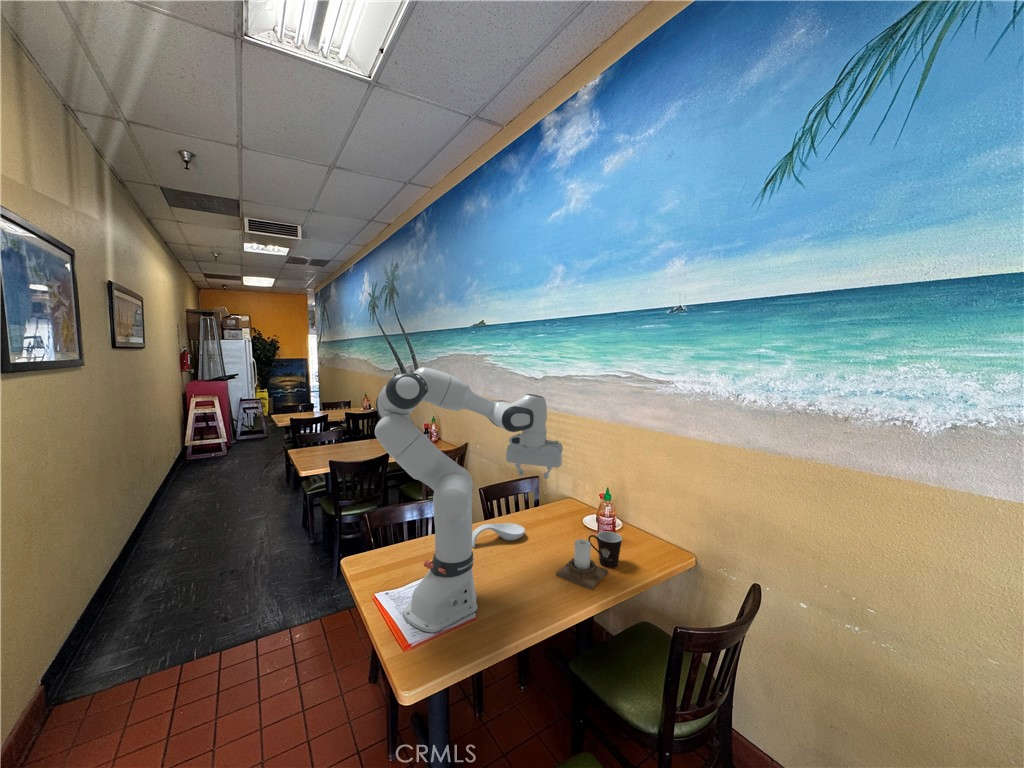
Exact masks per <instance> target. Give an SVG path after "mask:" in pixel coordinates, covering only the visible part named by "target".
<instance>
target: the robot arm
mask: <svg viewBox="0 0 1024 768" xmlns="http://www.w3.org/2000/svg"><path fill="white" fill-rule="evenodd" d="M421 402H425V403H430V404H432V405H434V406H437V407H438V408H442V409H445V410H450V411H456V412H458V411H462V410H468V411H471V412H474V413H476V414H479V415H482V416H484V417H486V418H487V419H488V420H489V421H490V422H491V424H493V425H494V426H496V427H498V428H501V429H502V430H505V431H507V432H510V433H516V432H517V434H514V435H512V436H511V437H509V439H508V443H509V444H508V445H507V448H506V453H505V460H506V461H507V463H511V464H512V463H513V464H515V468H516V470H517V471H518V474H517V475H518V476H521V477H522V476H524V471H525V470H524V469H522V467H521V465H528V466H530V465H531V466H540V467H546V470H547V471H546V472H543V479H547V480H548V479H549V477H550V472H551V471H552V469H553V468H556V469H557V468H560V467H561V466H562V463H563V461H562V460H563V457H562V453H563V451H564V450H563V444H562V443H561V442H559V440H551V439H547V426H546V423H547V420H548V411H547V410H548V409H547V408H548V407H547V401H546V399H545V397H544V396H542V395H537V394H532V393H526V394H524V395H523V396H522V397H521V398H519V399H517V400H516V401H513V402H510V401H507V400H504V399H503V400H492V399H489V398H487V397H485V396H482V395H480V394H477V393H476V392H474V391H473V390H472V389H470V386H469V384H468V383H466V382H464V381H463V380H461V379H460V378H458V377H456V376H454V375H451V374H449V373H448V372H444V371H441V370H438V369H435V368H430V367H425V366H424V367H423V366H422V367H419V368H417V369H416V370H414V372H413V373H409V372H408V373H407V372H406V373H400V374H396V375H395V376H393V377H392V378H390V379H389V380H388V381H387V383H386V384H385V385H384V386H383V387H382V388H381V390H380V392H379V394H378V396H377V398H376V401H375V408H376V411H377V415H378V419H379V421H378V422H377V424H376V425H375V428H374V435H375V438H376V439H377V441H378V443H380V445H381V447H382V448H383V449H384V450H385V451H386V452H387V454H388V455H389V456H390V457H391V458H392V459H393V461H395V462H396V463H397V464H398V465H399V466H400V467H401V469H403V470H404V471H405V472H406V473H407V474H408V475H409V476H410V477H411V478H412V479H414V480H418V481H420V482H421V483H423V484H424V485H426V486H427V487H428V488H431V490H432V491H433V497H432V504H433V505H432V508H433V522H434V534H435V535H434V539H435V540H434V549H435V550H434V553H433V557H432V560H431V561H430V560H429V559H426V560H424V562H423V567H425V568H427V569H428V570H429V571H428V572H427V573H426V574H425V575H424V577H423V578H422V580H421V581H420V582H419V584H418V585H417V586H416V587H415V589H414V590H413V592H412V596H411V602H409V603H408V604H407V606H405V607H404V608H403V609H402V616H403V617H404V619H405V621H406V622H407V623H409V624H410V625H412V627H415V628H417V629H418V630H420V631H422V632H423V631H424V632H427V633H437V632H439V631H442V630H443V629H444V628H446V627H449V626H450V625H452V624H454V623H456V622H458V621H459V620H461V618H462V619H464V618H465V617H467V616H469V615H471V614H473V613H475V612H476V611H478V603H477V599H478V597H477V592H476V588H475V580H474V574H473V573H474V572H473V567H474V560H475V559H474V552H473V549H472V548H473V547H472V533H473V489H474V488H473V487H474V486H473V483H474V482H473V478H472V476H471V474H470V473H469V471H468V470H467V469H466V468H465V467H463V466H461V465H459V464H458V463H457V462H456V461H455V460H454V459H452V458H450V457H449V456H448V455H447V454H445V453H444V452H443V451H441V450H440V448H438V447H437V446H436V445H435V444H434V443H433V441H431V439H430V438H429V437H428V436H426V435H425V434H424V433H423V432H422V431H421V430H420V429H419V428H418V427H417V426H416V425H415V424H414V422H413V421H412V418H411V416H410V415H411V413H412V412H413V411H414V410H415V409H416V407H417V406H418V405H419V404H420V403H421ZM518 432H521V433H518ZM468 614H469V615H468ZM463 617H464V618H463ZM457 620H458V621H457Z"/></svg>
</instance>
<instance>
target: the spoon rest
mask: <svg viewBox="0 0 1024 768" xmlns="http://www.w3.org/2000/svg"><path fill="white" fill-rule="evenodd" d="M487 530H491V531H493V532H494V533H495V534H496V535H498V536H499V537H500V538H502V539H503V540H505V541H507V542H508V541H509V542H510V541H516V540H518V539H520V538H521V537H523V536H524V534H525V533H526V528H525V527H523V526H522V525H520V524H517V523H509V522H505V523H504V522H503V523H484V524H482V525H479V526H478V527H476V529H474V530H472V548H473V549H475V548H476V543H477V537H478V536H479V535H480V534H481V533H482V532H483V531H487Z"/></svg>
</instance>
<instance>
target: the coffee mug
mask: <svg viewBox="0 0 1024 768" xmlns="http://www.w3.org/2000/svg"><path fill="white" fill-rule="evenodd" d="M592 537H593V538H595V539H596V541H597V546H598V548H596V547H595V545H594V544H593V543H592V542H591V538H592ZM587 541H589V542H590V543H591V547H592V548H593V550H595V551H596V552H597V553H598V558H599V564H600V565H601V566H602V567H603V568H605V569H616V568H617V567H618V566H619V558H620V553H621V546H622V541H623V536H621V535H620V534H619V533H616V532H613V531H605V530H604V531H600V532H598V533H597V536H596V535H595V534H591V535H589V536H588V539H587Z"/></svg>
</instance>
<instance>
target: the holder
mask: <svg viewBox="0 0 1024 768" xmlns="http://www.w3.org/2000/svg"><path fill="white" fill-rule="evenodd" d="M608 571H609V569H608V568H605V567H603V566H602V567H601V566H598V565H597V564H596V562H595V561H594V560H593V559H590V570H580V569H577V568H575V567H574V557H572V558H571V559H570V560H569V561H568V562H567V564H565V565H563V567H562V568H560V569H559V570H558V571H557V572H556V575H555V576H556V577H558V578H561V579H563V580H565V581H567V582H570V583H573V584H576V585H578V586H581V587H583V588H586V589H587V590H590V591H593V589H594V588H595V587H596V586H597V585H598V584H599V583H600V581H602V579H603V578H604V577H605V576H606V575H607V574H608V573H609V572H608Z"/></svg>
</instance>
